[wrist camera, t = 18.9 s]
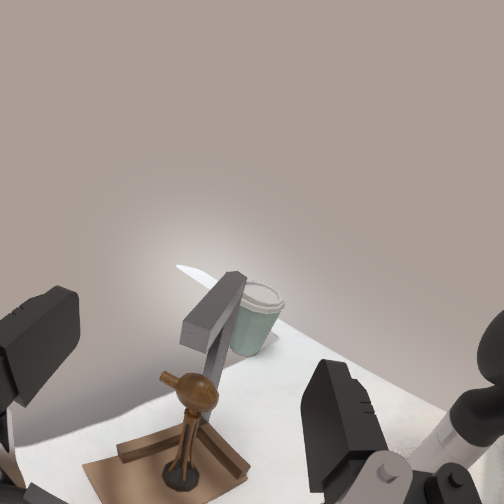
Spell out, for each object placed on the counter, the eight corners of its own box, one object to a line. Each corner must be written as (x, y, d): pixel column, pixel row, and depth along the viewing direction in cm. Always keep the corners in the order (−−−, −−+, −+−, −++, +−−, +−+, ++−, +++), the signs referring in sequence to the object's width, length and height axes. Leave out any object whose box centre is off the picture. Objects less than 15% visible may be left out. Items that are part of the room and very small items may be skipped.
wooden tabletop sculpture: (148, 475, 27) (149, 372, 21) (166, 453, 31) (179, 346, 25) (189, 498, 25) (214, 407, 19) (205, 474, 29) (238, 374, 23)
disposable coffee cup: (258, 335, 68) (276, 279, 64) (274, 364, 59) (296, 304, 54) (215, 333, 64) (229, 274, 60) (226, 364, 55) (243, 300, 50)
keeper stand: (198, 430, 38) (237, 270, 30) (246, 480, 30) (324, 327, 23) (82, 467, 24) (39, 288, 16) (124, 536, 17) (71, 410, 9)
